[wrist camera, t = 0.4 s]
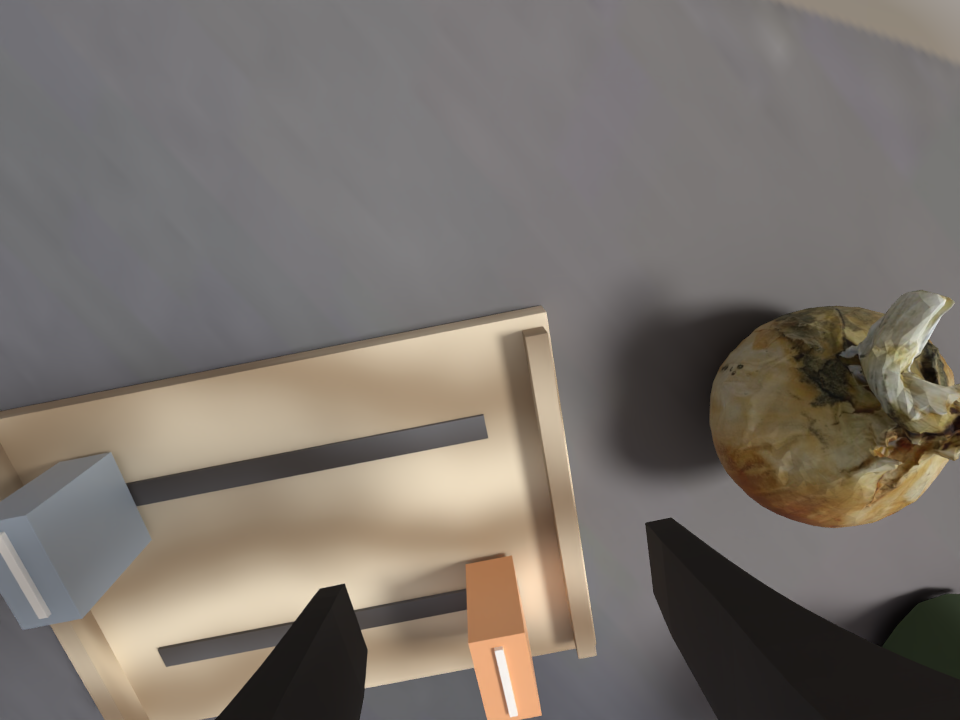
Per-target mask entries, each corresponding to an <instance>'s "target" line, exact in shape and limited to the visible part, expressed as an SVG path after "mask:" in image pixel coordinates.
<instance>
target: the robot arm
mask: <svg viewBox="0 0 960 720" xmlns="http://www.w3.org/2000/svg"><path fill="white" fill-rule="evenodd" d="M645 525H646V533H647V542H648V550H649V559H650V567H651V576H652V584H653V593H654V595H655V598H656V600H657V602H658V605H659V607H660V610H661V612H662V615H663V617H664V619H665V622H666V624H667V626H668V628H669V631H670V633H671V635H672V637H673V639H674V641H675V643H676V645H677V646H678V648H679V650H680V652H681V654H682V656H683V657H684V659H685V661H686V663H687V665H688V666H689V668H690V670H691V672H692V674H693V675H694V677H695V679H696V681H697V682H698V684H699V686H700V688H701V690H702V691H703V693H704V695H705V697H706V698H707V700H708V702H709V704H710V706H711V707H712V709H713V711H714V713H715V715H716V716H717V718H718V720H960V679H957V678H955V677H952V676H949V675H947V674H944V673H942V672H939V671H936V670H934V669H932V668H929V667H927V666H924V665H922V664H919V663H917V662H915V661H912V660H910V659H907V658H905V657H903V656H901V655H898V654H896V653H894V652H892V651H890V650H887V649H885V648H883V647H881V646H879V645H876V644H874V643H872V642H870V641H867V640H865V639H863V638H861V637H859V636H857V635H855V634H853V633H851V632H849V631H847V630H845V629H843V628H841V627H839V626H837V625H835V624H833V623H831V622H829V621H828V620H826V619H824V618H822V617H820V616H818V615H816V614H814V613H812V612H811V611H809V610H807V609H805V608H803V607H802V606H800V605H798V604H796V603H795V602H793V601H791V600H789V599H788V598H786V597H784V596H783V595H781V594H780V593H778V592H776V591H775V590H773V589H771V588H770V587H768V586H767V585H765V584H763V583H762V582H760V581H759V580H757V579H756V578H754V577H753V576H751V575H750V574H748V573H747V572H745V571H744V570H743V569H741V568H740V567H738V566H737V565H735V564H734V563H732V562H731V561H729V560H728V559H727V558H725V557H724V556H722V555H721V554H720V553H718V552H717V551H715V550H714V549H713V548H711V547H710V546H709V545H707V544H706V543H705V542H703V541H702V540H700V539H699V538H698V537H696V536H695V535H694V534H693V533H691V532H690V531H689V530H687V529H686V528H685V527H683V526H682V525H681V524H679V523H678V522H676V521H675V520H674V519H672V518H667V519H662V520H657V521H652V522H647V523H645ZM367 654H368V649H367V646H366V643H365V641H364V638H363V635H362V632H361V629H360V626H359V623H358V620H357V617H356V614H355V612H354V609H353V606H352V603H351V600H350V597H349V594H348V591H347V588H346V585H345V584H340V585H335V586H330V587H325V588H320V589H319V590H318V591H317V593H316V594H315V595H314V596H313V598H312V599H311V600H310V602H309V603H308V604H307V606H306V607H305V608H304V610H303V611H302V612H301V614H300V615H299V616H298V618H297V619H296V620H295V622H294V623H293V624H292V626H291V627H290V628H289V630H288V631H287V632H286V634H285V635H284V636H283V638H282V639H281V640H280V641H279V643H278V644H277V645H276V647H275V648H274V649H273V650H272V652H271V653H270V654H269V656H268V657H267V658H266V660H265V661H264V662H263V663H262V665H261V666H260V667H259V668H258V670H257V671H256V672H255V673H254V674H253V675H252V677H251V678H250V679H249V680H248V681H247V683H246V684H245V685H244V686H243V687H242V689H241V690H240V691H239V692H238V693H237V695H236V696H235V697H234V698H233V699H232V701H231V702H230V703H229V704H228V705H227V707H226V708H225V709H224V710H223V711H222V712H221V713H220V715H219V716H218V717H217V718H216V719H215V720H359V719H360V714H361V709H362V704H363V698H364V690H365V679H366V667H367Z"/></svg>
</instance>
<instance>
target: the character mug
mask: <svg viewBox="0 0 960 720" xmlns="http://www.w3.org/2000/svg"><path fill="white" fill-rule="evenodd" d="M882 647H883V648H885V649H887V650H890V651H892V652H894V653H896V654H898V655H901V656H903V657H905V658H907V659H910V660H912V661H915V662H917V663H919V664H922V665H924V666H927V667H929V668H932V669H934V670H936V671H939V672H942V673H944V674H947V675H949V676H952V677H955V678H957V679H960V594H945V595H942V596H939V597H936V598H933V599H930V600H927V601H924V602H921V603H918V604H917V605H916V606H915V607H914V608H913V609H912V610H911V611H910V613H909V614H908V615H907V616H906V617H905V618H904V619H903V620H902V621H901V622H900V623H899V624H898V625H897V627H896V628H895V629H894V631H893V632H892V633H891V635H890V636H889V638H888V639H887V640H886V642H885V643H884V645H883V646H882Z"/></svg>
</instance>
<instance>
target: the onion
mask: <svg viewBox="0 0 960 720" xmlns="http://www.w3.org/2000/svg"><path fill="white" fill-rule="evenodd" d="M954 303H955V302H954V301H953V300H951V299H950V298H949V297H946V296H942V295H938V294H935V293H931V292H927V291H924V290H918V291H912V292H908V293H905V294H903V295H901V296H900V297H899V298H898V299H897V301H896V302H895V303H894V304H893V305H892V306H891V307H890V309H889V310H888V311H887V312H886V313H885V314H883V313H879V312H875V311H871V310H868V309H864V308H860V307H844V306H826V307H816V308H808V309H804V310H800V311H796V312H793V313H789V314H786V315H783V316H780V317H778V318H776V319H774V320H772V321H770V322H768V323H766V324H763V325H761V326H759V327H758V328H756V329H755V330H754V331H753V332H752V333H751V334H750V335H749V336H748V337H747V338H745V339H744V340H742V342H741V343H740V344H739V345H738V346H737V348H736V349H734V350H733V351H732V352H731V353H730V354H729V356H728V357H727V358H726V360H725V361H724V362H723V364H722V365H721V366H720V368H719V370H718V373H717V375H716V377H715V379H714V381H713V385H712V390H711V395H710V427H711V432H712V438H713V443H714V446H715V449H716V452H717V455H718V457H719V459H720V461H721V464H722V465H723V467H724V469H725V470H726V472H727V473H728V474H729V476H730V477H731V478H732V479H733V480H734V482H735V483H736V484H737V485H738V486H740V487H741V488H742V489H743V491H744V492H745V493H746V494H747V495H748V496H749V497H751V498H752V499H753V500H755V501H756V502H757V503H759V504H760V505H761V506H763V507H765V508H767V509H769V510H771V511H772V512H774V513H776V514H779V515H781V516H784V517H786V518H789V519H792V520H795V521H798V522H802V523H805V524H809V525H813V526H820V527H830V528H839V527H849V526H857V525H862V524H868V523H873V522H876V521H879V520H881V519H883V518H885V517H887V516H889V515H891V514H894V513H896V512H898V511H899V510H901V509H902V508H904V507H905V506H907V505H909V504H911V503H913V502H915V501H917V499H918V498H919V497H920V496H921V495H922V494H923V493H924V492H925V491H926V490H927V488H928V487H929V486H930V484H931V483H932V482H933V481H934V479H935V478H936V477H937V476H938V474H939V473H940V471H941V470H942V469H943V467H944V466H945V465H946V463H947V462H948V461H949V459H950V460H953V461H955V460H957V459H958V458H959V454H960V384H957V385H955V382H954V375H953V372H952V370H951V369H950V368H949V366H948V365H947V364H946V362H945V360H944V358H943V357H942V356H941V355H940V353H939V350H938V348H937V347H935V346H934V345H933V344H932V342H931V341H930V340H929V338H930V336H931V334H932V332H933V330H934V328H935V327H936V325H937V323H938V321H939V319H940V318H941V316H942V315H943V314H945V313H946V312H947V311H948V310H949V309H950V308H951V307H952V306H953V305H954Z"/></svg>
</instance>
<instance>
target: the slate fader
mask: <svg viewBox="0 0 960 720" xmlns="http://www.w3.org/2000/svg"><path fill="white" fill-rule="evenodd" d="M151 540H152V539H151V537H150V535H149V532H148V530H147V528H146V526H145V524H144V522H143V520H142V517H141V515H140V513H139V511H138V509H137V507H136V505H135V502H134V500H133V498H132V496H131V494H130V492H129V489H128V487H127V485H126V483H125V481H124V479H123V477H122V474H121V472H120V470H119V468H118V466H117V464H116V462H115V459H114V457H113V455H112V453H111V452H109V453H103V454H98V455H93V456H88V457H83V458H78V459H73V460H68V461H62V462H59V463H57V464H56V465H54V466H53V467H51V468H50V469H48V470H47V471H45V472H44V473H42V474H41V475H39V476H38V477H36V478H35V479H33V480H32V481H30V482H29V483H27V484H26V485H24V486H23V487H21V488H20V489H18V490H17V491H15V492H14V493H12V494H11V495H10V496H8V497H7V498H5V499H4V500H2V501H1V502H0V593H1V595H2V596H3V598H4V600H5V601H6V603H7V605H8V606H9V608H10V610H11V611H12V613H13V615H14V616H15V618H16V620H17V621H18V623H19V625H20V626H21V628H22V630H25V629H30V628H36V627H41V626H46V625H51V624H57V623H62V622H67V621H72V620H77V619H83V617H84V616H85V615H86V614H87V613H88V612H89V611H90V609H91V608H92V607H93V606H94V605H95V604H96V603H97V602H98V600H99V599H100V598H101V597H102V596H103V595H104V594H105V592H106V591H107V590H108V589H109V588H110V587H111V586H112V584H113V583H114V582H115V581H116V580H117V579H118V578H119V577H120V575H121V574H122V573H123V572H124V571H125V570H126V569H127V567H128V566H129V565H130V564H131V563H132V562H133V561H134V560H135V558H136V557H137V556H138V555H139V554H140V553H141V552H142V550H143V549H144V548H145V547H146V546H147V545H148V544H149V542H150V541H151Z"/></svg>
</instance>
